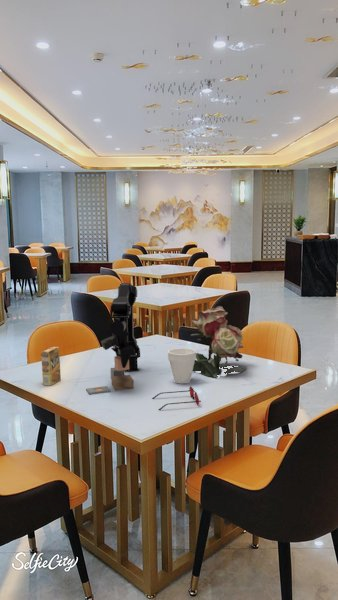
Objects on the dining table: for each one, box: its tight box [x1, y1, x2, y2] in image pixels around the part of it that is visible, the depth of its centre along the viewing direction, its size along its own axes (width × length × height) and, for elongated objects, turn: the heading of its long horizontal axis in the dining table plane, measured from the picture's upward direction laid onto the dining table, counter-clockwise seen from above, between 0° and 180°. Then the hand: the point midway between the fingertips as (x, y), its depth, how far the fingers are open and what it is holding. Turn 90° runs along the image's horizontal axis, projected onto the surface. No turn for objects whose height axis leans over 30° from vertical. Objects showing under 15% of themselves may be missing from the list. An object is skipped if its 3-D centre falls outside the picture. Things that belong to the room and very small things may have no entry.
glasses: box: [151, 385, 202, 411], centre depth 197 cm, size 14×16×5 cm
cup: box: [167, 347, 197, 384], centre depth 224 cm, size 12×12×14 cm
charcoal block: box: [110, 367, 126, 380], centre depth 229 cm, size 5×5×5 cm
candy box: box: [40, 346, 62, 386], centre depth 225 cm, size 9×4×15 cm, turn 163°
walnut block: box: [111, 374, 135, 391], centre depth 219 cm, size 8×8×4 cm
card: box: [85, 385, 112, 396], centre depth 213 cm, size 9×6×1 cm, turn 112°
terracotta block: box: [113, 355, 129, 371], centre depth 218 cm, size 5×5×5 cm
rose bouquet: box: [190, 305, 247, 379], centre depth 242 cm, size 26×29×30 cm
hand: (122, 366), depth 218 cm, fingers closed on terracotta block, 5 cm apart
